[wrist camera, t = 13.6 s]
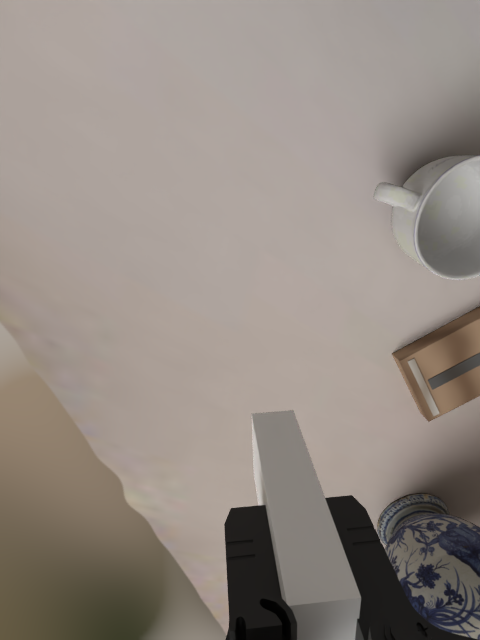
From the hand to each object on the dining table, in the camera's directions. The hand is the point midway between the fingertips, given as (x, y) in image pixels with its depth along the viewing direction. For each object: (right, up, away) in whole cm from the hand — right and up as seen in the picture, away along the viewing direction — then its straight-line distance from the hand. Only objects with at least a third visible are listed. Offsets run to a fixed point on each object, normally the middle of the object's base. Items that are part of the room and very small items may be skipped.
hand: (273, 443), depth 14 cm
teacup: (+17, +17, +27) cm, 36 cm away
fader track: (+30, +2, +33) cm, 45 cm away
